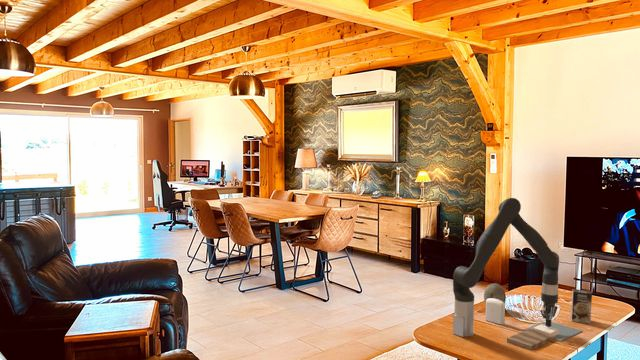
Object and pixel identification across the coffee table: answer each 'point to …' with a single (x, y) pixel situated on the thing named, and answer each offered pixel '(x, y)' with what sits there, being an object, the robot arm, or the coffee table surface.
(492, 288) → the decorative egg
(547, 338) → the deck
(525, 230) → the robot arm
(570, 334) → the mat
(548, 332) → the tile
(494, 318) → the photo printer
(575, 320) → the coffee box
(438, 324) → the coffee table surface
